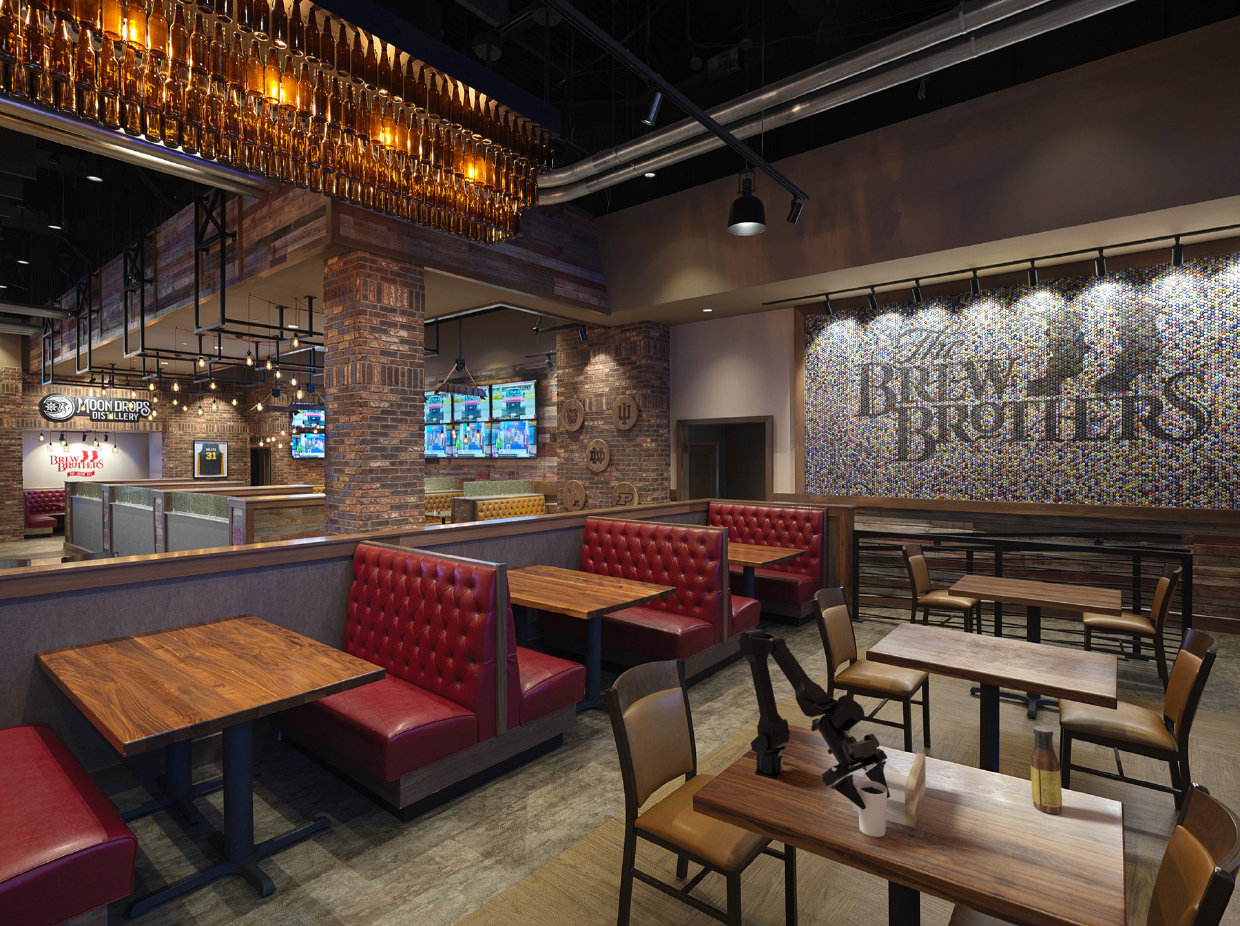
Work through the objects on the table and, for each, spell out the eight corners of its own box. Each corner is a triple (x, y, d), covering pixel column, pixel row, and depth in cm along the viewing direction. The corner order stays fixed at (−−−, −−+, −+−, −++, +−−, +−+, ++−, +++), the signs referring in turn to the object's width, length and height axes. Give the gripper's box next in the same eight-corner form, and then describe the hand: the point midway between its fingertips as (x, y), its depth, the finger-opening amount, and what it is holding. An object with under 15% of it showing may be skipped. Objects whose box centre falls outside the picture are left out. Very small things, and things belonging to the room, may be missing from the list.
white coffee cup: (851, 823, 150) (851, 782, 150) (875, 820, 152) (875, 778, 152) (869, 839, 144) (868, 796, 144) (893, 835, 145) (893, 792, 146)
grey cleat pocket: (853, 810, 156) (852, 796, 156) (870, 774, 175) (870, 761, 175) (905, 825, 150) (904, 810, 150) (917, 785, 168) (917, 772, 168)
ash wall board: (905, 825, 150) (904, 787, 150) (917, 785, 168) (917, 752, 168) (914, 827, 149) (913, 789, 149) (925, 787, 167) (925, 754, 167)
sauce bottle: (1067, 810, 156) (1066, 731, 156) (1054, 818, 152) (1053, 736, 153) (1038, 799, 161) (1037, 722, 162) (1025, 805, 158) (1024, 727, 158)
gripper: (831, 733, 147) (873, 800, 137) (880, 716, 157) (922, 778, 147) (805, 754, 153) (843, 820, 144) (853, 736, 163) (892, 797, 154)
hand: (876, 803), depth 147 cm, fingers open, 9 cm apart
